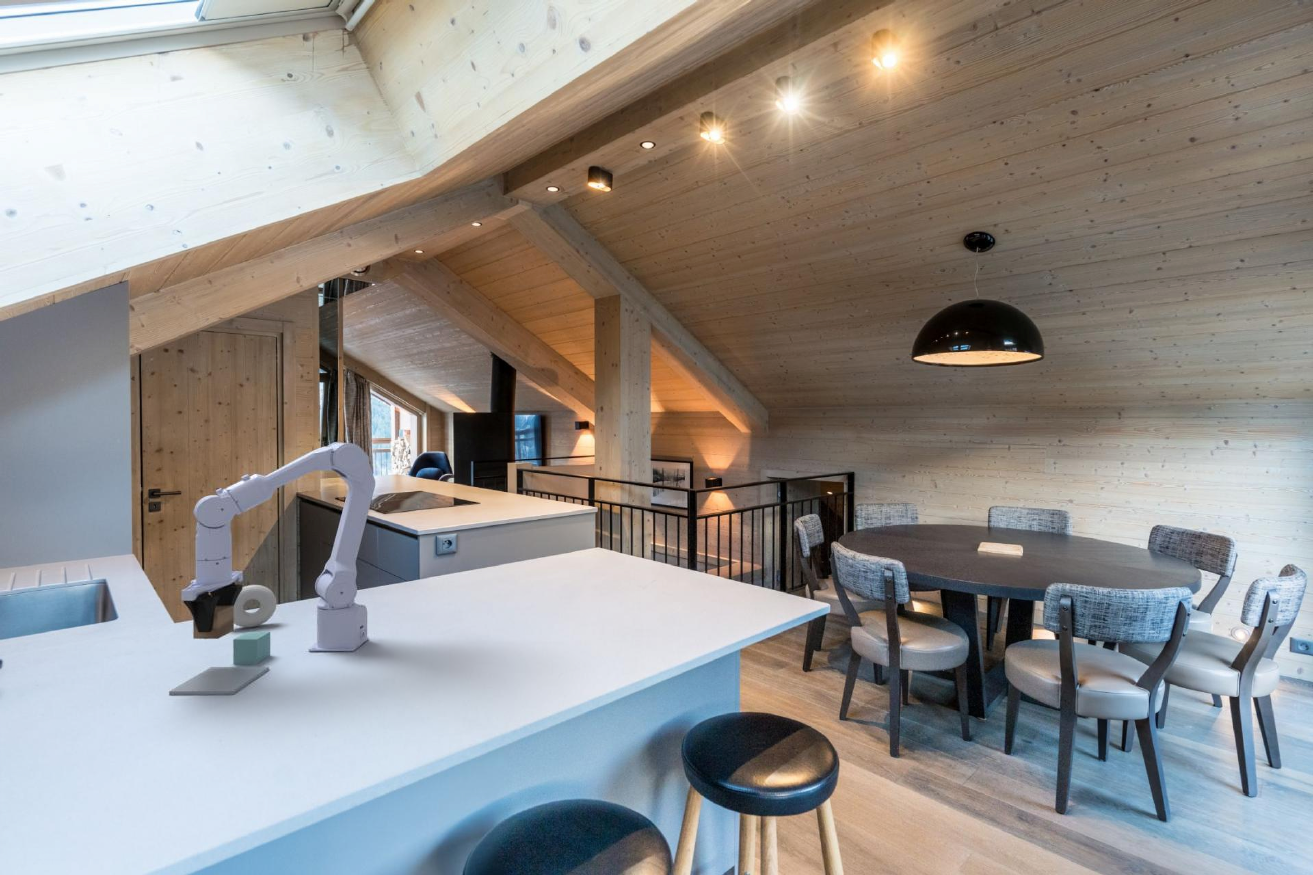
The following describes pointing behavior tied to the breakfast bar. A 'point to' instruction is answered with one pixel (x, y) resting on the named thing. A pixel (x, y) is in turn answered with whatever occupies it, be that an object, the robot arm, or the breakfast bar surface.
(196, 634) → the walnut brick
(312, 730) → the breakfast bar surface
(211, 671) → the baseplate
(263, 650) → the teal brick
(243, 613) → the donut
